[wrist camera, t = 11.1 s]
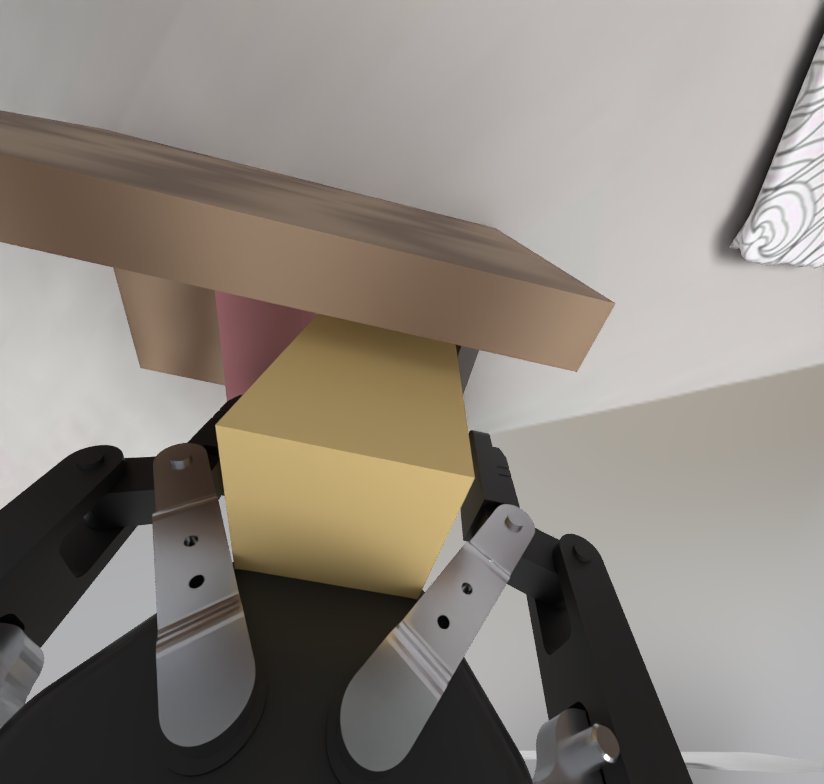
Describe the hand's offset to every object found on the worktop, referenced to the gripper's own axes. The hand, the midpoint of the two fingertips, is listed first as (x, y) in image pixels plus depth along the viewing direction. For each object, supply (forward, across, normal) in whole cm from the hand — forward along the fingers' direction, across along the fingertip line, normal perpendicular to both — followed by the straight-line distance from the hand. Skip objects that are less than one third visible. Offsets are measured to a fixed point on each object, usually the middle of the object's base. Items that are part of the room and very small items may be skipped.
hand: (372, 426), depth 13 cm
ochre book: (+9, 0, 0) cm, 9 cm away
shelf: (+11, +6, 0) cm, 12 cm away
